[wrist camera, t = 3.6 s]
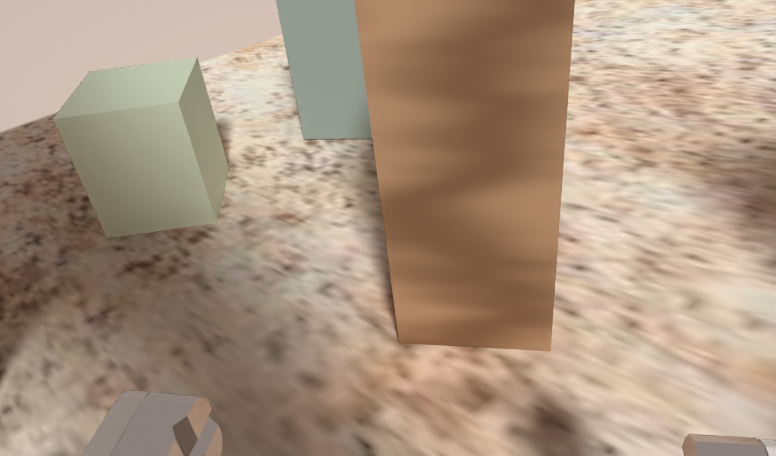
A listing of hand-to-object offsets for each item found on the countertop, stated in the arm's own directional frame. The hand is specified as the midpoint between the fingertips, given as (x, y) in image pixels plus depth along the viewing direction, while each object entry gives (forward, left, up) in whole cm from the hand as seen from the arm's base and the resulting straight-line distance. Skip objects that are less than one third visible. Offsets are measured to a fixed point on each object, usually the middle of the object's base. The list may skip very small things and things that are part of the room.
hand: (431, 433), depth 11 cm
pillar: (0, +11, -7) cm, 12 cm away
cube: (-15, +17, -7) cm, 23 cm away
